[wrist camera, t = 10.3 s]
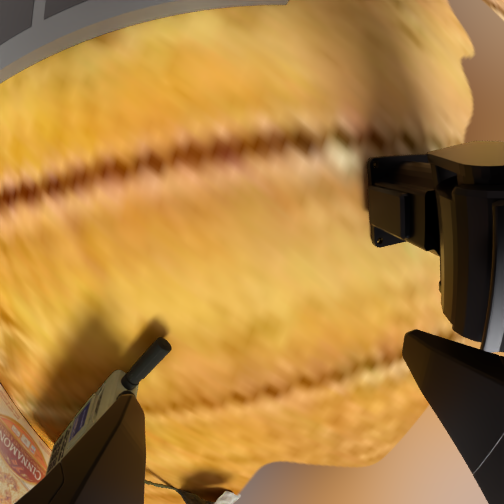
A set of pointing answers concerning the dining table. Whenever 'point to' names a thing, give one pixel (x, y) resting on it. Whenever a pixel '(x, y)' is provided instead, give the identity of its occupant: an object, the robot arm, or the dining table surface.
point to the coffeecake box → (19, 453)
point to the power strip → (81, 23)
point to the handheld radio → (107, 399)
